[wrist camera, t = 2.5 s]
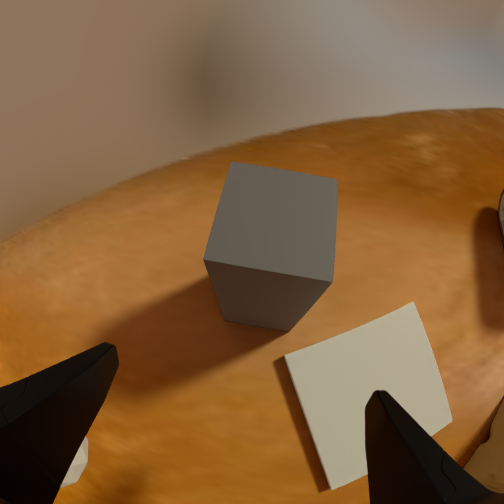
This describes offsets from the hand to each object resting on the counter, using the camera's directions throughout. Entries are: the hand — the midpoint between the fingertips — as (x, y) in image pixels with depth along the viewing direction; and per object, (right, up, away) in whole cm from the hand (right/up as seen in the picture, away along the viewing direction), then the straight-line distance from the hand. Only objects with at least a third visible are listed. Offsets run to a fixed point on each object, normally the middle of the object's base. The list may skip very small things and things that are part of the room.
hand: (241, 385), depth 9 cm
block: (+1, +1, +14) cm, 14 cm away
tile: (+10, -7, +11) cm, 16 cm away
